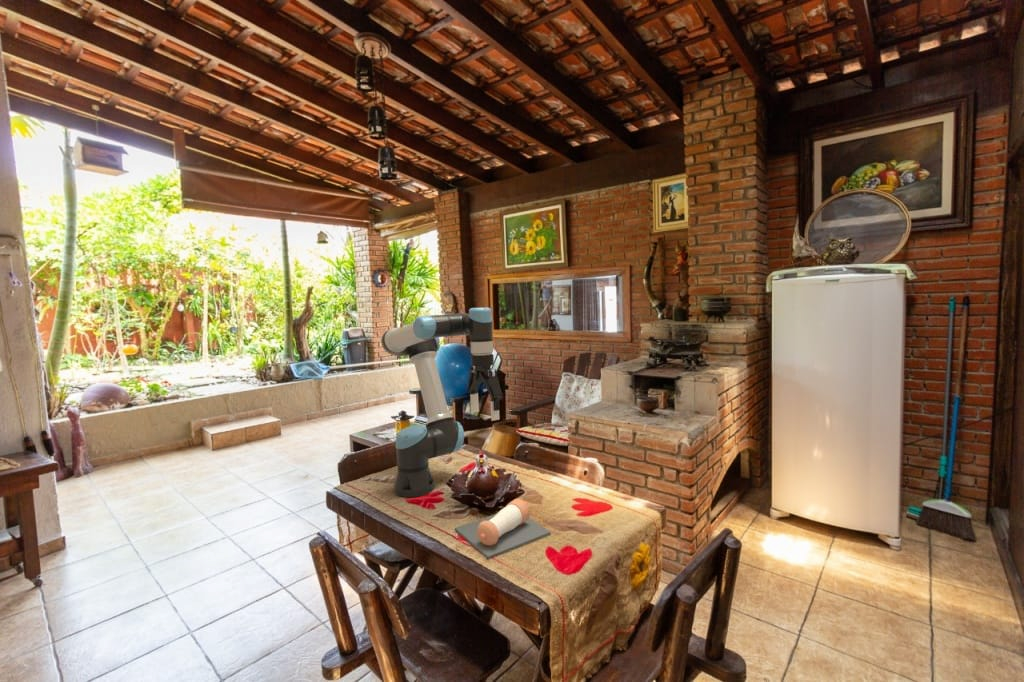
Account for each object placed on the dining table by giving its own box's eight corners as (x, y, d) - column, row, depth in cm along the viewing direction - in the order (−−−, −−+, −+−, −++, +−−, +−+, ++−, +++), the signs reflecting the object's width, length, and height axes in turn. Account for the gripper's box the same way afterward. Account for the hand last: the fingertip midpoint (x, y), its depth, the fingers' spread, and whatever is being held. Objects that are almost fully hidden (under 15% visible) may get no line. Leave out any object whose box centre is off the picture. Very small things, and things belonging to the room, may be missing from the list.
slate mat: (454, 530, 143) (454, 527, 142) (513, 510, 155) (513, 507, 155) (488, 559, 126) (487, 556, 126) (550, 534, 138) (550, 531, 138)
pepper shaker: (531, 522, 143) (494, 551, 127) (512, 520, 147) (474, 548, 132) (527, 499, 143) (489, 526, 127) (509, 497, 147) (470, 523, 132)
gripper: (512, 355, 145) (514, 421, 147) (473, 350, 166) (476, 407, 168) (492, 358, 141) (494, 425, 143) (455, 351, 162) (458, 410, 164)
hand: (484, 416), depth 156 cm, fingers open, 13 cm apart
